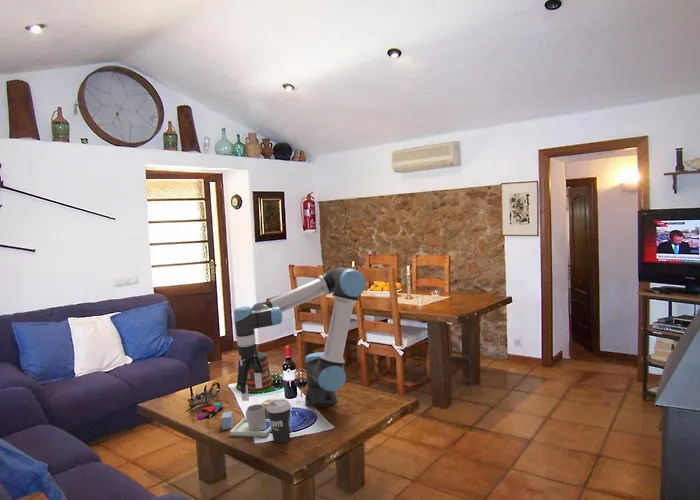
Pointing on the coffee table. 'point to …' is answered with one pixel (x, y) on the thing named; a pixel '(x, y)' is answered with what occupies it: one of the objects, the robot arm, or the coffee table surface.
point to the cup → (256, 417)
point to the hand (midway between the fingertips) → (252, 394)
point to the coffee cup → (279, 420)
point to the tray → (243, 430)
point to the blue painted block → (227, 420)
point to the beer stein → (264, 375)
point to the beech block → (267, 401)
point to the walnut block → (266, 411)
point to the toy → (210, 410)
